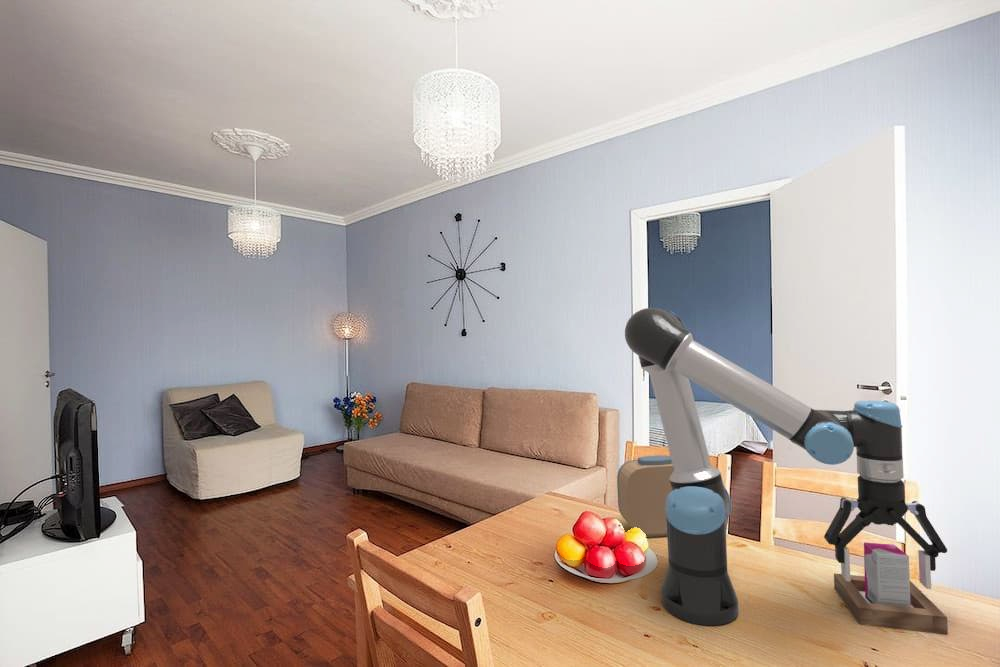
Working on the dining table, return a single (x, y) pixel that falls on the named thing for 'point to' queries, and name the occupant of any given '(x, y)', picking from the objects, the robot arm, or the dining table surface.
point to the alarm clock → (645, 493)
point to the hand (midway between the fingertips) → (884, 582)
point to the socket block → (890, 608)
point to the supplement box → (886, 575)
